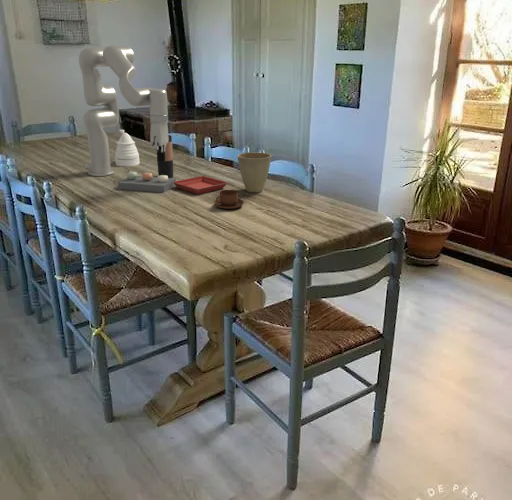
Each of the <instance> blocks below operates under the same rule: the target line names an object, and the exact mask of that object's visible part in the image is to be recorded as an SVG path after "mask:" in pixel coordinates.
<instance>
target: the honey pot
mask: <svg viewBox="0 0 512 500" xmlns="http://www.w3.org/2000/svg"><path fill="white" fill-rule="evenodd" d="M119 133H120V134H121V135H120V138H119V139H118V141H116V142H115V144H116V145H117V146H116V148H115V149H116V150H115V153H114V159H115V160H114V161H115V162H114V163H115V165H116V166H119V167H133V166H138V165H140V163H141V162H140V154H139V152H138V149H137V145H136V142H135V140H133V139H132V136H131V135H129V134H128V133H127V132H125V129H119Z"/></svg>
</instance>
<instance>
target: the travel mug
mask: <svg viewBox="0 0 512 500" xmlns="http://www.w3.org/2000/svg"><path fill="white" fill-rule="evenodd" d="M168 135H169V141H168V143H167V145H166V146H165V161H157V160H156V163H157V171H158V172H157V173H158V175H157V176H160V175H166V176H168V178H174V154H173V140H172V139H173V137H172V135H170V134H168ZM158 145H159V144H158Z"/></svg>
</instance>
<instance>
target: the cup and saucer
mask: <svg viewBox="0 0 512 500" xmlns="http://www.w3.org/2000/svg"><path fill="white" fill-rule="evenodd" d="M213 204H214V206H215V207H216V208H217V207H218V208H220V209H222V210H223V209H225V210H233V209H234V210H235V209H238V208H241V207H243V205H244V201H243V200H242V199H239V191H237V190H234V189H223V190H222V189H221V190H220V191H219V195H218V196H217V197H216V198H215V200H214V201H213Z"/></svg>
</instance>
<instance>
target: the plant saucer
mask: <svg viewBox="0 0 512 500" xmlns="http://www.w3.org/2000/svg"><path fill="white" fill-rule="evenodd" d="M173 183H174V184H175V186H176V187H177V188H178V189H179V188H180V189H179V190H184V191H186V192H190V193H193V194H196V195H201V194H204V193H210V192H213V191H218V190H222V189H224V188H225V187H226V185H228V182H227V181H223V180H219V179H216V178H212V177H209V176H204V175H202V176H197V177H191V178H185V179H181V180H176V181H175V182H173Z"/></svg>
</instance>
